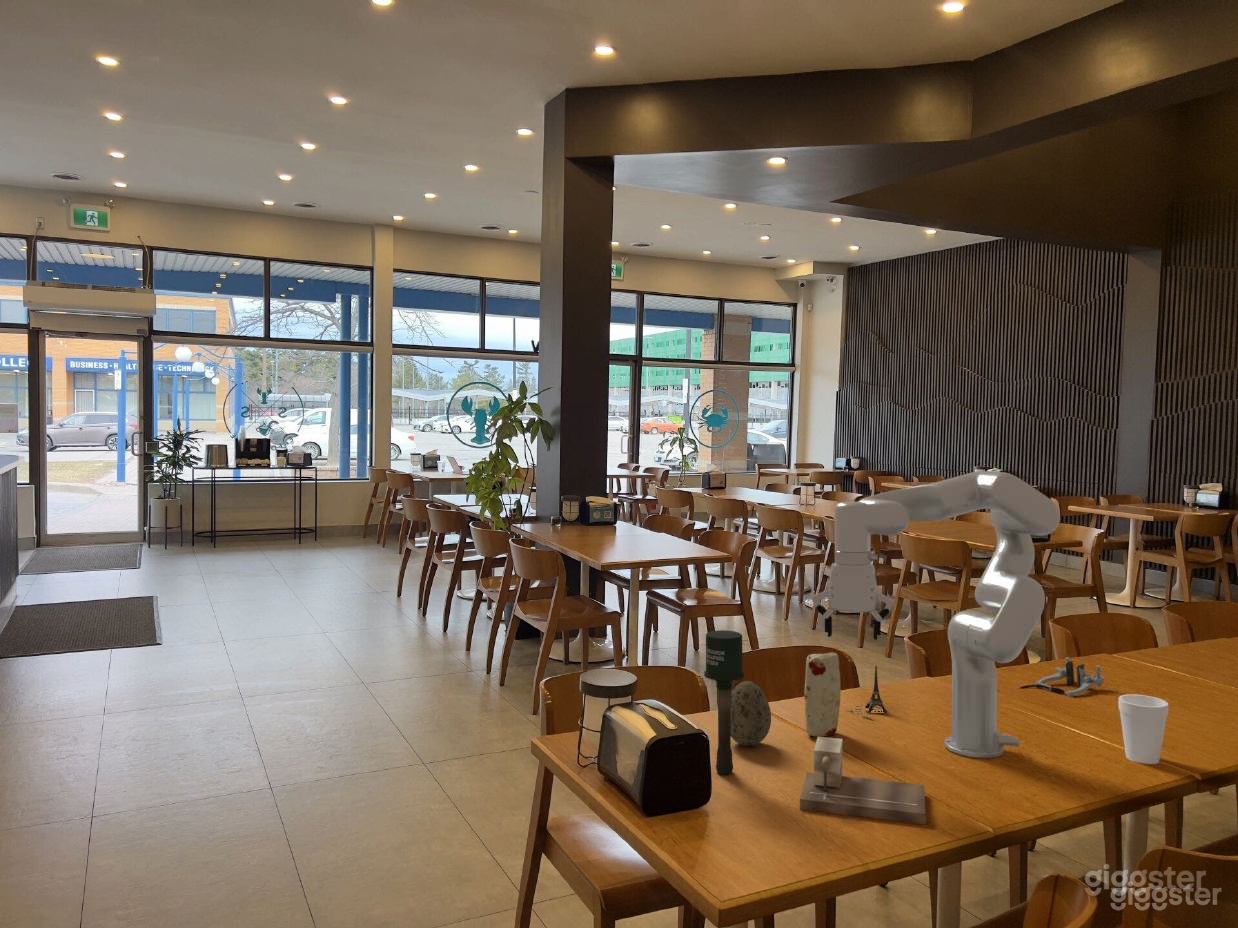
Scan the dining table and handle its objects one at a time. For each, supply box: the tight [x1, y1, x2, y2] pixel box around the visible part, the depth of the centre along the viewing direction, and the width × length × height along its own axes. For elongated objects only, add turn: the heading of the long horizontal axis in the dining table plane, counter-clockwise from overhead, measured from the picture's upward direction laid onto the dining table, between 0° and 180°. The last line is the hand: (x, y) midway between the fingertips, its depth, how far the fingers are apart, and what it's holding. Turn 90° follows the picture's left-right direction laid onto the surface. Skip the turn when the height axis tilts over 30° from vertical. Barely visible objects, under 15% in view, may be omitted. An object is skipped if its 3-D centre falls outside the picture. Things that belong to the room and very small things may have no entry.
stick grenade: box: [703, 629, 745, 776], centre depth 188 cm, size 8×9×30 cm
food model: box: [803, 652, 841, 738], centre depth 211 cm, size 10×7×20 cm
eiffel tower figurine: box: [854, 665, 889, 720], centre depth 229 cm, size 15×10×13 cm
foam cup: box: [1118, 693, 1169, 765], centre depth 194 cm, size 10×9×13 cm
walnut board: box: [799, 771, 927, 825], centre depth 173 cm, size 23×14×2 cm, turn 72°
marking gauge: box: [813, 736, 843, 792], centre depth 177 cm, size 5×13×9 cm, turn 162°
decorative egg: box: [731, 680, 772, 747], centre depth 205 cm, size 11×11×15 cm
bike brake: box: [1019, 656, 1105, 698], centre depth 246 cm, size 14×7×20 cm
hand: (852, 636), depth 191 cm, fingers open, 9 cm apart
